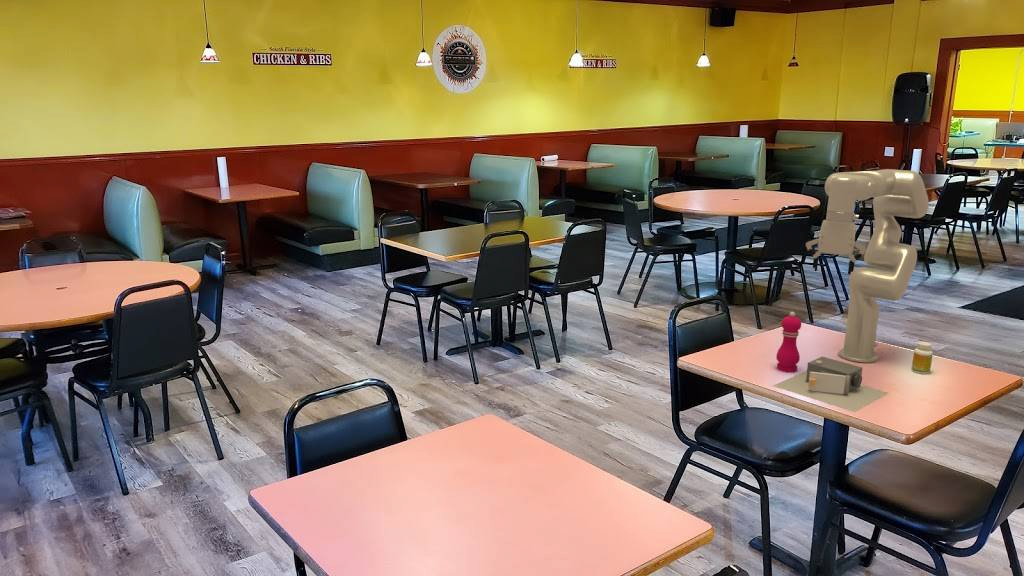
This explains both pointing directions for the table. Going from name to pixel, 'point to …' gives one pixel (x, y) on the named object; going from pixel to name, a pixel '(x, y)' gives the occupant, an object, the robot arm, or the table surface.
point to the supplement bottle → (922, 358)
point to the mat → (849, 402)
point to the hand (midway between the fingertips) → (832, 272)
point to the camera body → (836, 370)
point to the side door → (829, 382)
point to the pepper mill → (789, 344)
